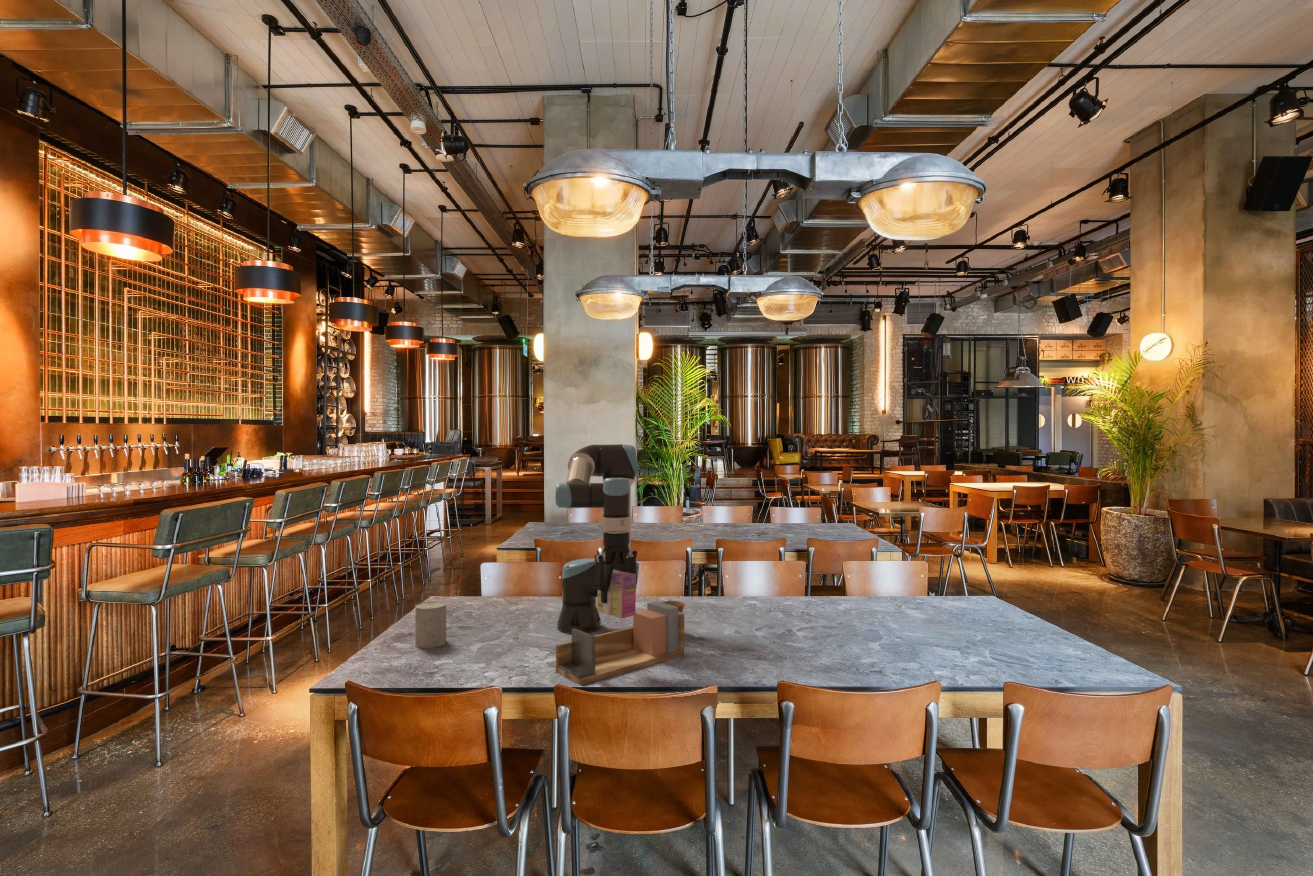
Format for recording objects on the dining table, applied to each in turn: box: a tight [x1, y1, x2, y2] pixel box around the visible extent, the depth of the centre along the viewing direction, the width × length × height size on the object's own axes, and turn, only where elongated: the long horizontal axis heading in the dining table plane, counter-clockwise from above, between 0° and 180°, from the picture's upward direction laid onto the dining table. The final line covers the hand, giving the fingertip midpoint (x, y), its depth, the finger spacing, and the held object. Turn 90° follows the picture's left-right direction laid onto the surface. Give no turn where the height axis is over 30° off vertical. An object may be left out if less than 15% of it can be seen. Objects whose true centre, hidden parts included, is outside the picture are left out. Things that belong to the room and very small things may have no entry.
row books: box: [632, 600, 679, 656], centre depth 189 cm, size 10×10×13 cm
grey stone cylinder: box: [414, 600, 448, 649], centre depth 200 cm, size 10×10×12 cm
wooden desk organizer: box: [555, 612, 685, 686], centre depth 182 cm, size 13×37×12 cm, turn 130°
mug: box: [662, 600, 686, 613], centre depth 208 cm, size 12×9×10 cm
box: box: [596, 570, 637, 619], centre depth 179 cm, size 10×6×12 cm, turn 47°
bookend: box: [559, 628, 595, 678], centre depth 171 cm, size 10×5×10 cm, turn 40°
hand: (616, 612), depth 179 cm, fingers closed on box, 6 cm apart
